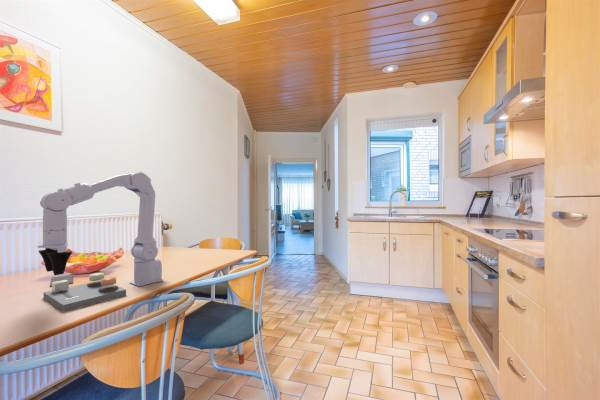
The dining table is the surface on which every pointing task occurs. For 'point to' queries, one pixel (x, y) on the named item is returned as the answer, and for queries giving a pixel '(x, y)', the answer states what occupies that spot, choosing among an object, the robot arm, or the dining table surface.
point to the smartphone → (68, 278)
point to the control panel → (83, 295)
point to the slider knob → (60, 286)
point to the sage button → (96, 276)
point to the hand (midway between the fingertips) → (55, 272)
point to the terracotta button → (108, 281)
